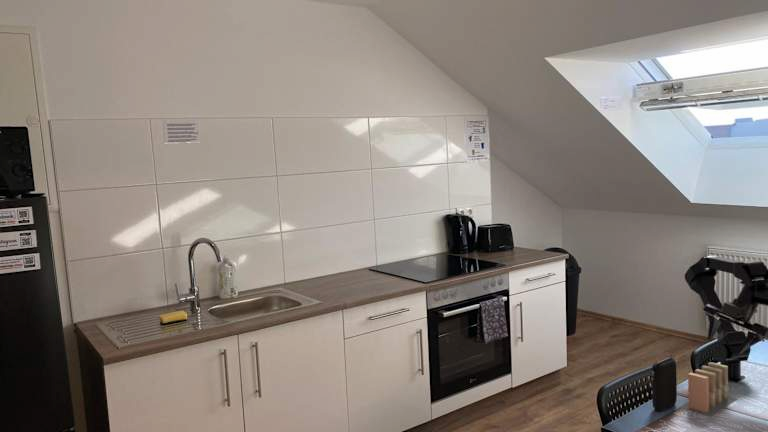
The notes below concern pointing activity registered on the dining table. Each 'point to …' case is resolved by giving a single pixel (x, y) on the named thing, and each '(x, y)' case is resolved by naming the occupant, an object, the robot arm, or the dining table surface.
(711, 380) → the domino
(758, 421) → the dining table surface
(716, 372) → the domino
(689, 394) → the domino
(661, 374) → the black upright slab
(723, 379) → the domino
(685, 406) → the rubber mat
